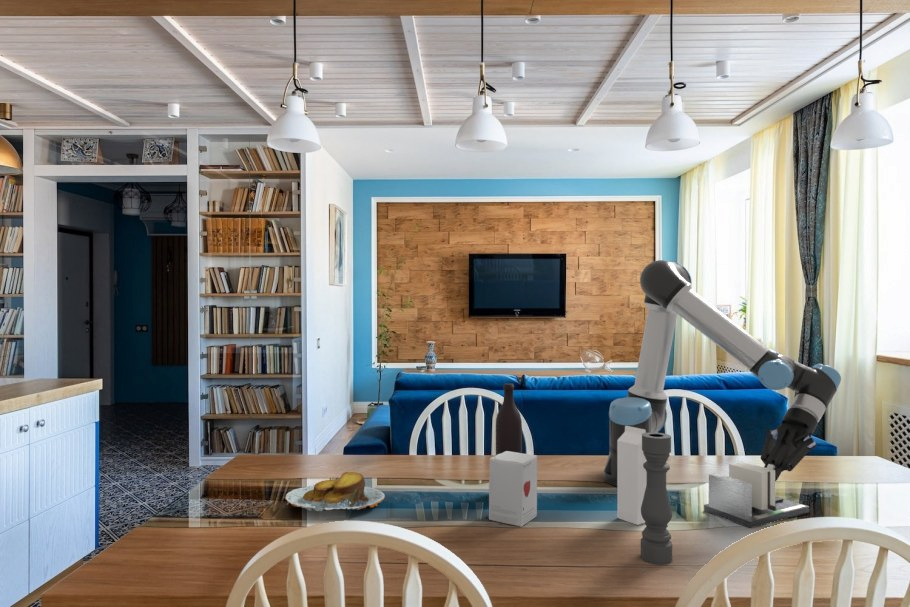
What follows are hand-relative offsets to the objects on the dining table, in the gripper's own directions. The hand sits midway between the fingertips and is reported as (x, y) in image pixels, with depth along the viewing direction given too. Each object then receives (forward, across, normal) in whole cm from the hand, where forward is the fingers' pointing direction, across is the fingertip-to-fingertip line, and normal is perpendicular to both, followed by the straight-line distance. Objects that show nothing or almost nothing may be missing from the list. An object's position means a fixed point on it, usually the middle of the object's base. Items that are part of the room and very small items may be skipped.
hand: (761, 488), depth 152 cm
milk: (+27, +10, +19) cm, 34 cm away
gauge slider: (+5, -1, 0) cm, 5 cm away
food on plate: (+70, +56, +61) cm, 108 cm away
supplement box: (+45, +25, +37) cm, 63 cm away
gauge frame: (+5, 0, -2) cm, 6 cm away
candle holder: (+36, -8, +28) cm, 46 cm away
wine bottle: (+39, +40, +31) cm, 64 cm away
